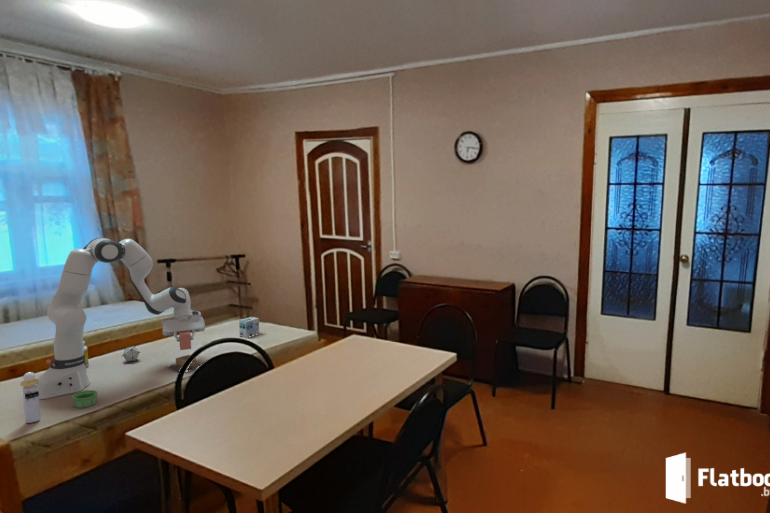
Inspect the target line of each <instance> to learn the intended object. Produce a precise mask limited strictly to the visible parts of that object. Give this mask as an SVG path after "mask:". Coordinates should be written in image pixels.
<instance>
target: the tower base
mask: <svg viewBox="0 0 770 513" xmlns="http://www.w3.org/2000/svg"><path fill="white" fill-rule="evenodd" d="M190 356H191V355H190V354H187V355H186V354H185V355H182V356H178V357H176V358H175V364H171V365H169V366H168V368H169V369H170V370H172V371H174V372H177V373H179V370H180V368H181V367H182V366H183V364H184V363H185V361H186V360H187V359H188V358H189V357H190ZM201 364H202V363H199V362H197V358H196V357H195V359H194V360H193V361H192V363H191V364H190V366H189V368H188V369H187V370H188V372H190V371H189V370H192V371H194V370H197V369H196V368H197V367H198V366H200V365H201Z"/></svg>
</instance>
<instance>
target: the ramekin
mask: <svg viewBox="0 0 770 513" xmlns="http://www.w3.org/2000/svg"><path fill="white" fill-rule="evenodd" d="M98 394H99V393H98V391H97V390H94V389H88V390H81V391H79V392H75V393H74V394H73V395H72V396H71V398H72V401H73V406H74V407H75V408H77V409H84V408H89V407H92V406H94V405H96V404H97V402H98Z"/></svg>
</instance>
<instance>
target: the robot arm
mask: <svg viewBox="0 0 770 513" xmlns="http://www.w3.org/2000/svg"><path fill="white" fill-rule="evenodd" d="M118 260H120V261H121V262H123V264H124V265H125V267H126V268H128V270H129V273H130V274H129V275H128V277H129V280H130V283H131V284H132V286H133V287H134V289H135V290H136V292H137V294H138V295H139V296H140V298H141V300H142V301H143V303H144V305H145V307H146V310H147V311H148V312H149V313H150V314H153V315H157V316H159V315H161V314H162V313H164V312H165V311H168V310H169V309H173V317H168V318H166V317H165V318H164V319H162V320H161V322H160V323H161V326H162V335H163V336H164V337H166V336H173V338H175V340H176V342H180V337H179V336H178V335H179V332H185V331H190V334H191V341H192V340H194V338H195V337H194V336H196V333H201V332H204V331H205V330H206V323H205V320H204V317H203V316H202V313H201V311H197V310H192V308H191V306H192V304H191V303H192V302H191V297H190V293H189V291H188V290H187V289H186V288H184V287H175V286H170V287H168V288H166V289H164V290H162V291H160V292H158V293H156V294H154V293H152V292H151V290H150V288H149V287H148V285H147V284H146V282H145V279H146V278H147V276H148V275H149V274H150V273H151V271H152V269H153V268H154V262H153V258H152V257H151V255H149V254H148V252H147V251H146V250H145V249H144V248H143V247H142V246H141V245H140V244H139V243H138V242H136V241H135V240H134V239H132V238H125V239H121V240H120V241H119V242H118V241H115V240H112V239H110V238H107V237H106V238H105V237H95V238H94V239H91V240H90V241H89V242H88V243H87V244H86V245H85V246H84V247H83V248H74V249H72V250H70V252H69V253H68V256H67V258H66V259H65V263H64V265H63V269H62V273H61V275H60V279H59V284H58V287H57V290H56V292H55V294H54V296H53V298H52V301H51V303H50V305H49V306H48V307H47V311H46V313H47V317H48V320H49V321H50V322H51V323H53V324H54V325H55V335H54V340H53V351H54V354H53V355H54V358H53V359H50V358H48V359H47V360H46V361H45V363H46V364H47V365H49V368H47V370H46V371H44V372H43V373H42V374H41V375H40V376H39V377H38V378H37V379H38V380H39V383H37V384H35V385H37V386H38V391H39V396H38V397H39V400H46V399H51V398H57V397H60V396H64V395H69V394H73V393H74V394H75V393H78V392H81V391H84V390H83V389H84V388H86V387H88V386H89V385H90V384H91V381H90V379H89V376H88V374H87V367H85V365H86V358H85V354H84V350H83V341H84V331H85V325H86V324H85V323H86V322H87V315H86V312H85V310H84V309H83V308H82V307H81V306H80V304H81V302H82V300H83V297H84V296H85V294H87V292H88V288H89V285H90V281H91V277H92V273H93V268H94V267H95V265H96V264H97V263H98V262H101V263H105V264H109V263H114V262H116V261H118Z"/></svg>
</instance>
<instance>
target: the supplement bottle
mask: <svg viewBox="0 0 770 513" xmlns="http://www.w3.org/2000/svg"><path fill="white" fill-rule="evenodd" d="M85 344H86V342H85V340H83V350H84V354H85V358H86V365H85V368H87V367H88V366H89V350H88V346H87V345H85Z"/></svg>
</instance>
